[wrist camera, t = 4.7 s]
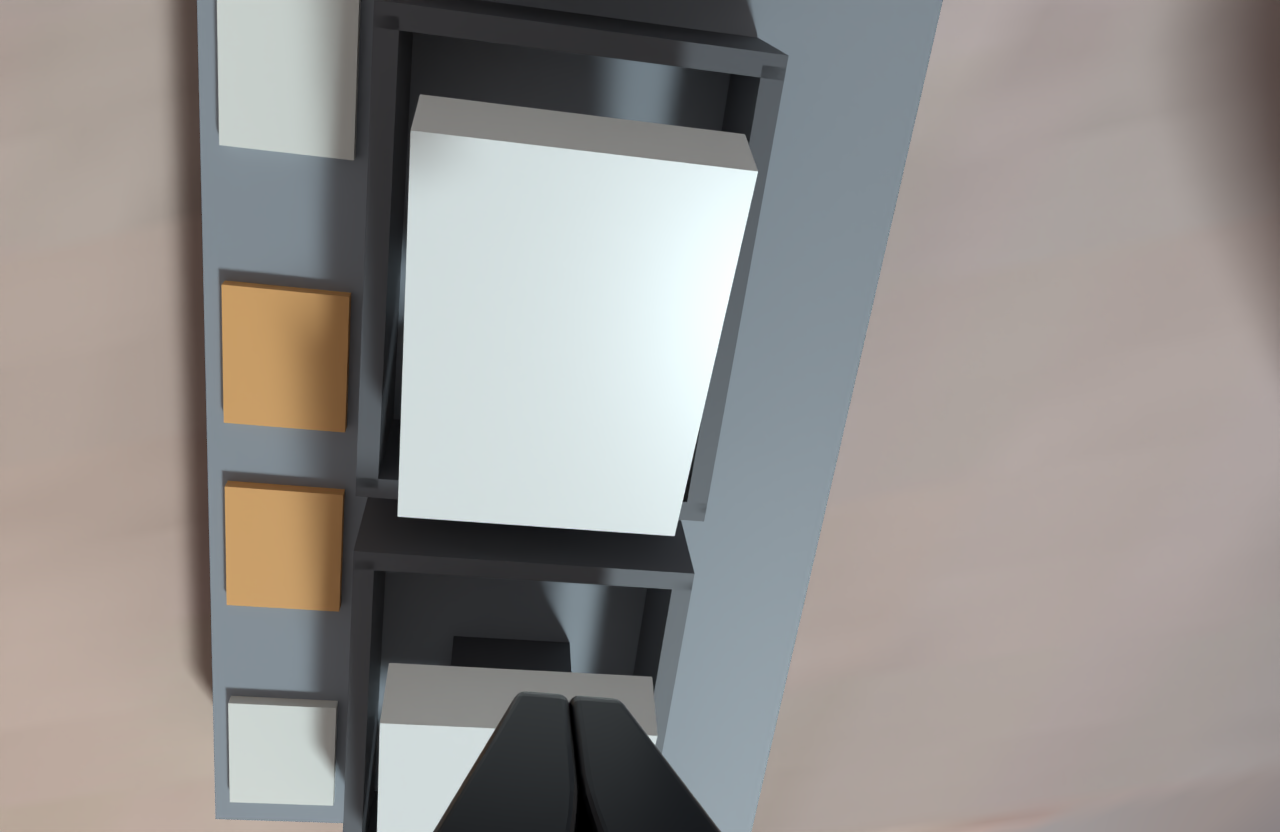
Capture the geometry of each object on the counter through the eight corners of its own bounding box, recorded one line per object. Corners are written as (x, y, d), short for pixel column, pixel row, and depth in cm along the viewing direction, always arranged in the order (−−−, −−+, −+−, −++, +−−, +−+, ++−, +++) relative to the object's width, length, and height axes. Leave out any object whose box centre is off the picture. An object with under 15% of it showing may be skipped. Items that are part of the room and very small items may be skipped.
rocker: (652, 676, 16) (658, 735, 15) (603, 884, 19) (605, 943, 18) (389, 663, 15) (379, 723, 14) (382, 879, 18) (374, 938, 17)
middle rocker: (745, 133, 13) (757, 171, 12) (668, 487, 16) (674, 536, 15) (419, 94, 12) (410, 130, 11) (405, 467, 15) (397, 516, 14)
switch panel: (1025, -596, 15) (1220, -789, 10) (733, 764, 24) (776, 944, 20) (225, -776, 13) (90, -1082, 9) (240, 744, 22) (177, 933, 18)
